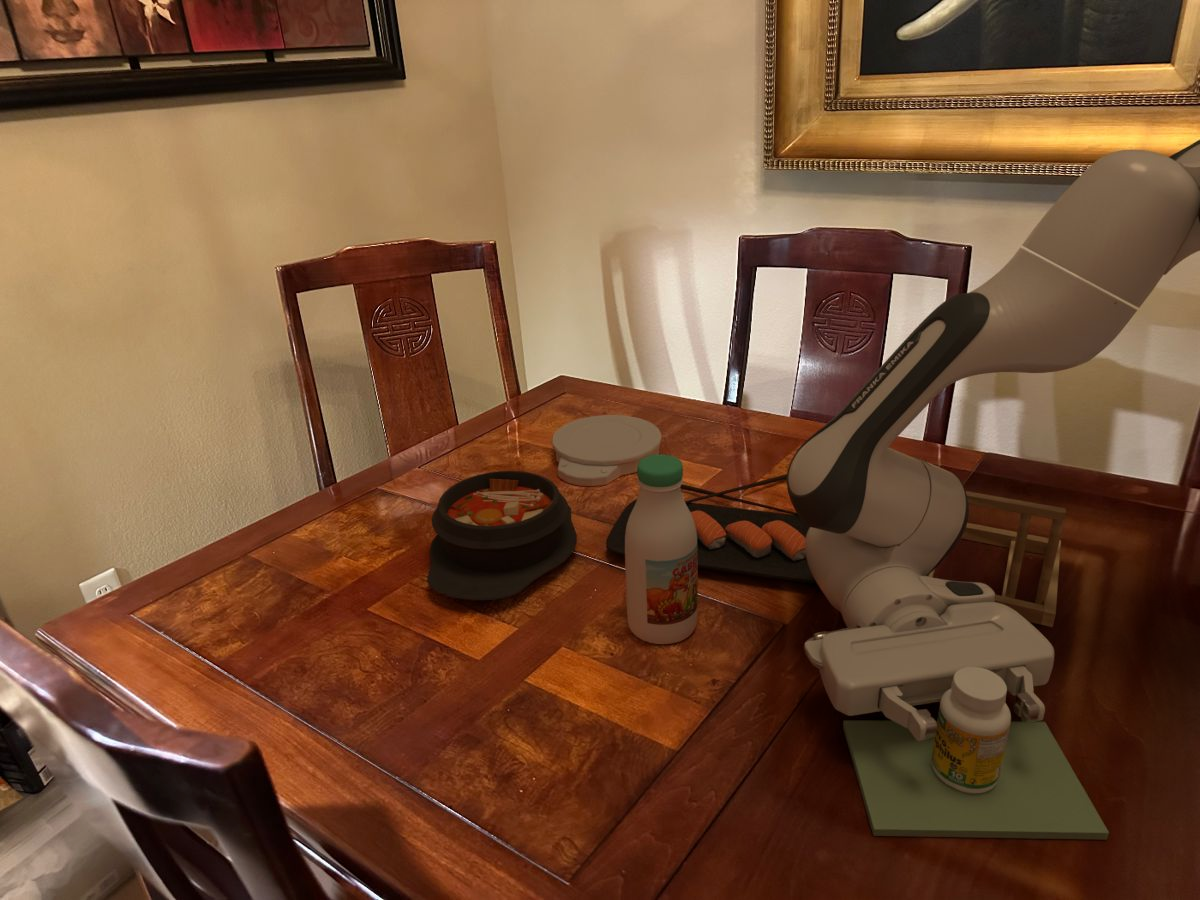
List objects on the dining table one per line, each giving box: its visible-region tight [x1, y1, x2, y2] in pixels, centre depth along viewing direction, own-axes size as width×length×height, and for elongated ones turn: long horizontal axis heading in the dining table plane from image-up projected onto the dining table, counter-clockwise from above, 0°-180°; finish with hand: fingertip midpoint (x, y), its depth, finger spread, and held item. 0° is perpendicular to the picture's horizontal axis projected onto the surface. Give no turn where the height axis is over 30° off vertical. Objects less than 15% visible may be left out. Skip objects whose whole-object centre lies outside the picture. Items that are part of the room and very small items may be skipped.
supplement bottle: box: [931, 667, 1012, 794], centre depth 70 cm, size 5×5×10 cm
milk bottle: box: [624, 453, 699, 645], centre depth 89 cm, size 8×8×20 cm
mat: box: [842, 719, 1110, 841], centre depth 72 cm, size 18×12×1 cm, turn 87°
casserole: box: [426, 470, 578, 601], centre depth 105 cm, size 25×19×8 cm
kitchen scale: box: [551, 414, 663, 487], centre depth 131 cm, size 17×20×3 cm
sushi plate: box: [605, 473, 818, 585], centre depth 112 cm, size 29×30×4 cm
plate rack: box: [928, 490, 1067, 628], centre depth 97 cm, size 16×18×13 cm
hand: (982, 724), depth 68 cm, fingers open, 8 cm apart
